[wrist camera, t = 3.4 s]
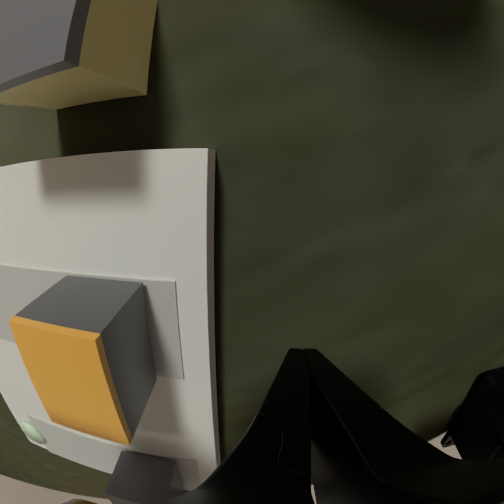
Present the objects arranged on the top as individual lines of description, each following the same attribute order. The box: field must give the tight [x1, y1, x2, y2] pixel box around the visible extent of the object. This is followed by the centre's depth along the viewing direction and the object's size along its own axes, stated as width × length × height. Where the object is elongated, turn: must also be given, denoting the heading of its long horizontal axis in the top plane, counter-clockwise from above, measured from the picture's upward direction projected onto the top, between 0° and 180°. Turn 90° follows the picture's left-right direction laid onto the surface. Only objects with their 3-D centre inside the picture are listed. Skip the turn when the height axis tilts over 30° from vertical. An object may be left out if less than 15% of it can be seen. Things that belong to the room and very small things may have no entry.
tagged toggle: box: [9, 275, 157, 446], centre depth 8 cm, size 3×4×3 cm
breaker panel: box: [0, 148, 221, 491], centre depth 11 cm, size 14×18×2 cm
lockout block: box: [0, 0, 158, 110], centre depth 6 cm, size 4×4×5 cm
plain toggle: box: [105, 451, 185, 504], centre depth 11 cm, size 3×4×3 cm
